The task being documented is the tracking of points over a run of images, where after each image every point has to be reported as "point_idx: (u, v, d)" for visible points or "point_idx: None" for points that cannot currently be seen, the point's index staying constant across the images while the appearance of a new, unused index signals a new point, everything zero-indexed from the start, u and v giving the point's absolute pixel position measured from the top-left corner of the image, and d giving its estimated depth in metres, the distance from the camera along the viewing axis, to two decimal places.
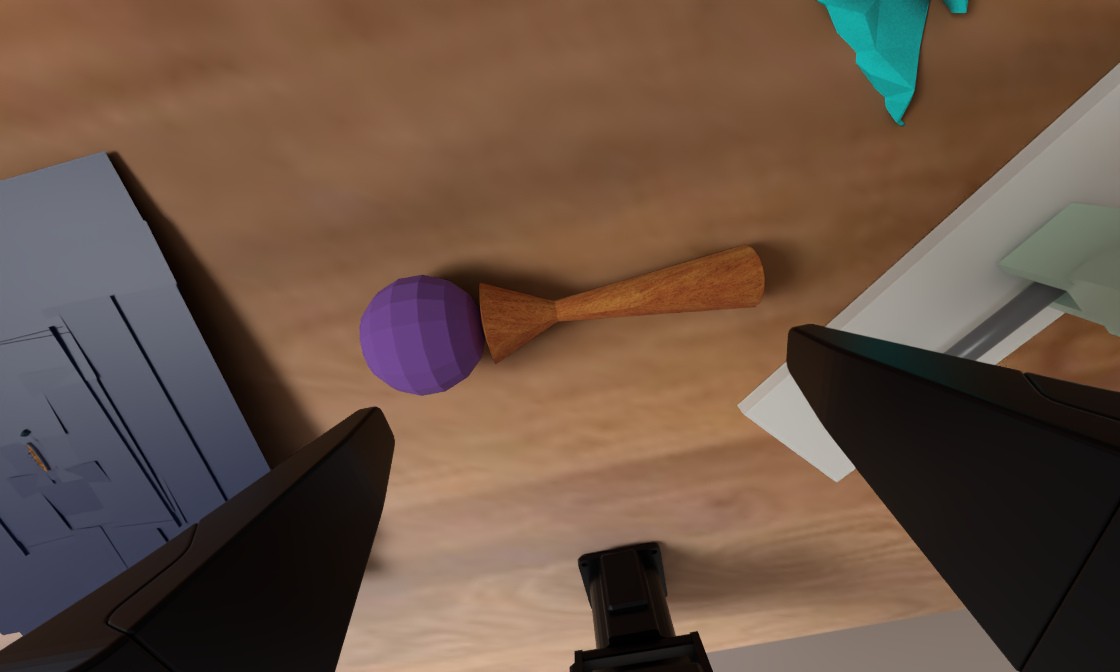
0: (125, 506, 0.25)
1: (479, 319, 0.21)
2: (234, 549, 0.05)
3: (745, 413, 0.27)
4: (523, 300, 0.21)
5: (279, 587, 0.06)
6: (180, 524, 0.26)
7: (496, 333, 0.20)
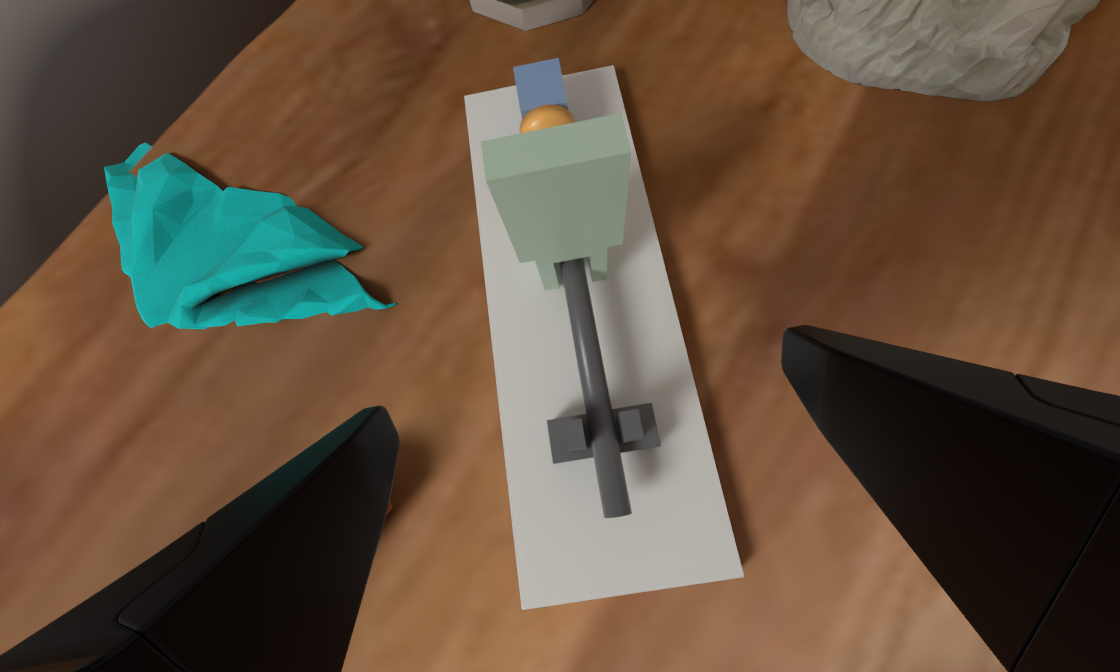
0: None
1: None
2: (242, 548, 0.05)
3: (522, 606, 0.19)
4: None
5: (286, 586, 0.06)
6: None
7: None
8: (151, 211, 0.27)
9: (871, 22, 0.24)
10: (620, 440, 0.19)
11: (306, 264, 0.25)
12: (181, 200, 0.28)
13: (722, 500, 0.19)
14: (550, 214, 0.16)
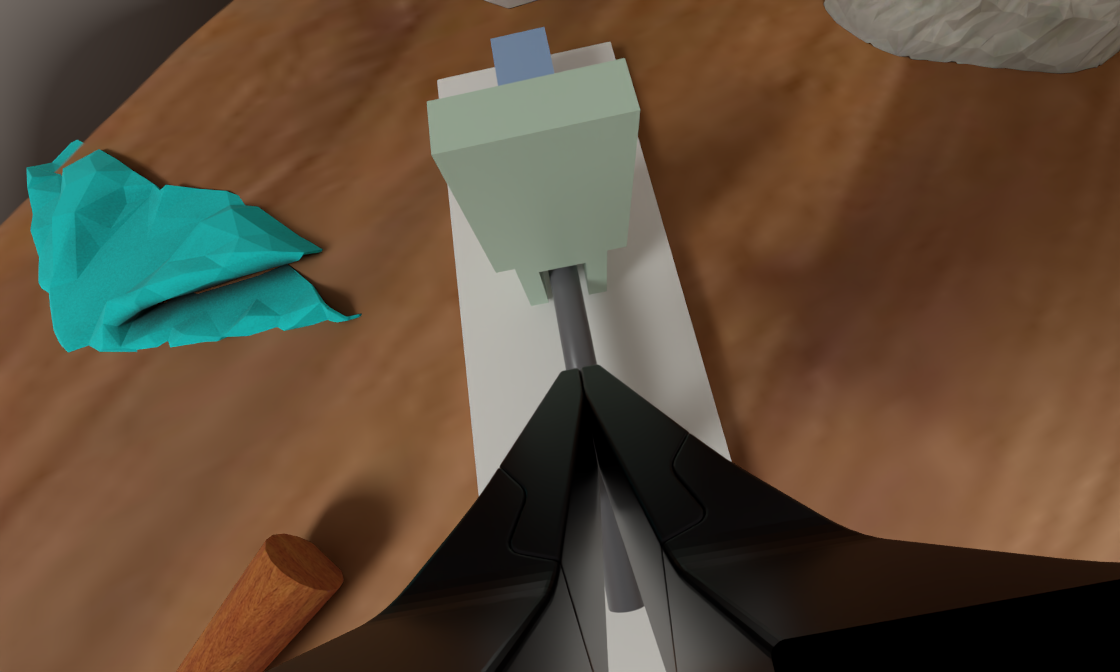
0: None
1: None
2: (572, 489, 0.05)
3: None
4: None
5: (586, 534, 0.06)
6: None
7: None
8: (73, 214, 0.23)
9: None
10: None
11: (253, 271, 0.21)
12: (111, 201, 0.24)
13: None
14: (529, 205, 0.12)
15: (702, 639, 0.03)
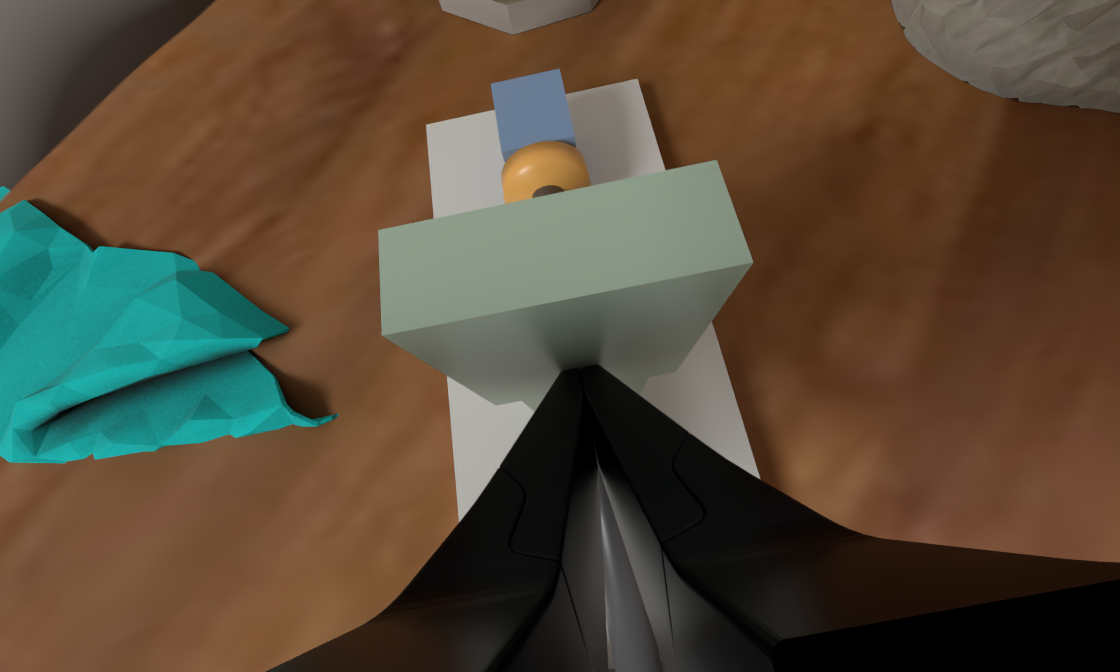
0: None
1: None
2: (571, 489, 0.05)
3: None
4: None
5: (586, 534, 0.06)
6: None
7: None
8: None
9: (1050, 8, 0.16)
10: None
11: (199, 361, 0.17)
12: (32, 267, 0.20)
13: None
14: (546, 359, 0.08)
15: (703, 639, 0.03)
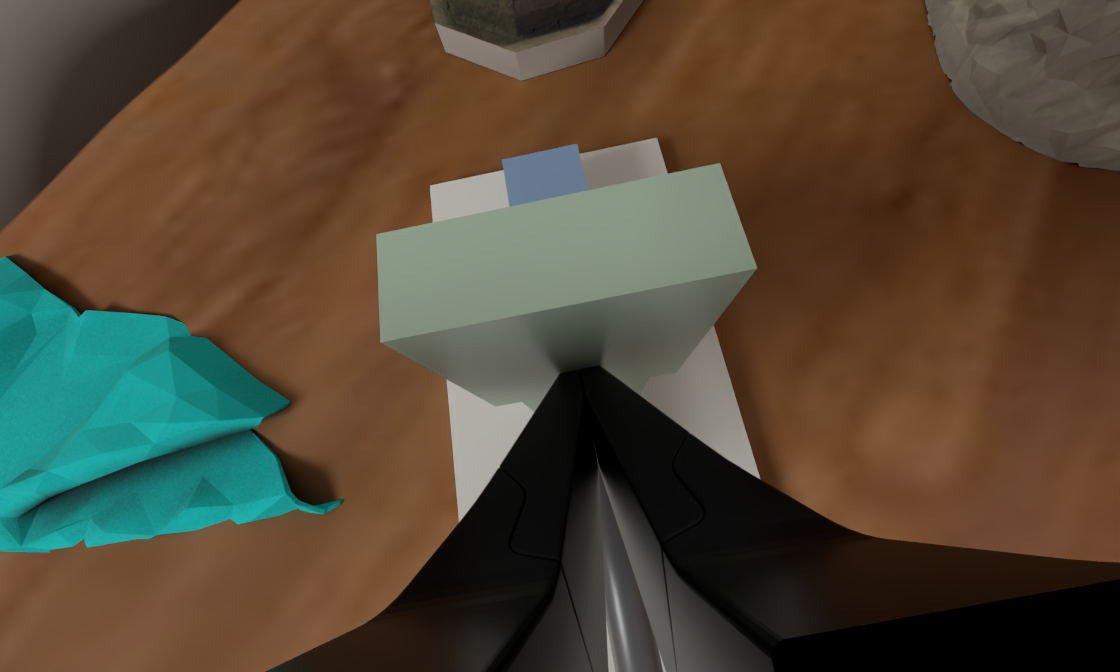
0: None
1: None
2: (572, 489, 0.05)
3: None
4: None
5: (586, 534, 0.06)
6: None
7: None
8: None
9: None
10: None
11: (196, 442, 0.16)
12: (14, 334, 0.19)
13: None
14: (546, 363, 0.08)
15: (703, 638, 0.03)
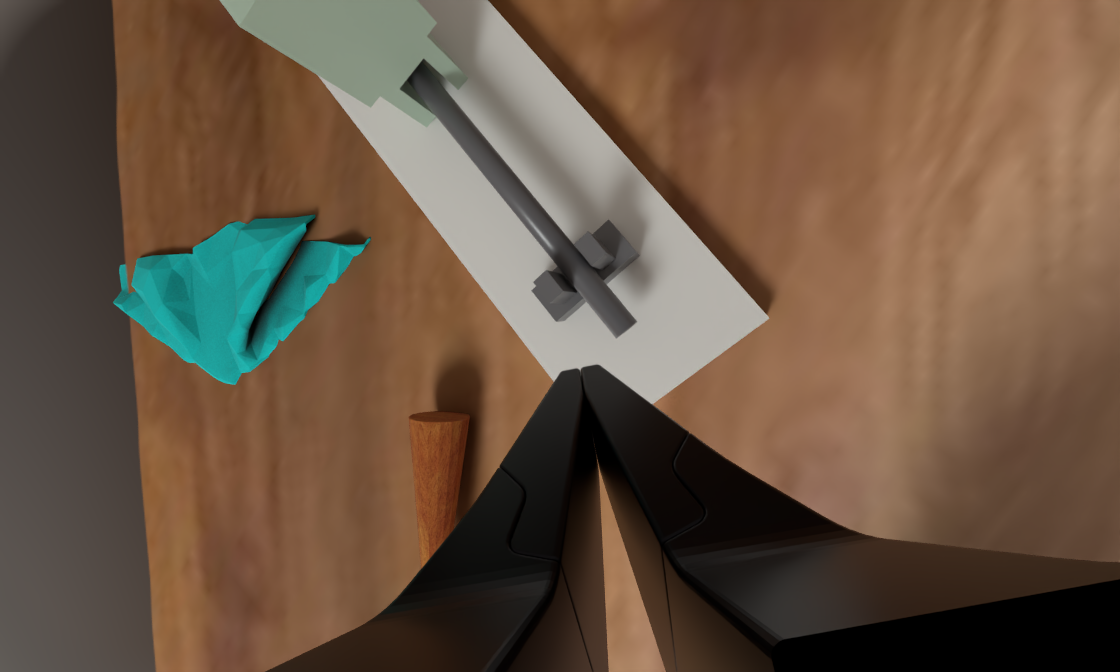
0: None
1: None
2: (571, 489, 0.05)
3: None
4: None
5: (586, 534, 0.06)
6: None
7: None
8: (163, 305, 0.31)
9: None
10: (599, 269, 0.20)
11: (286, 258, 0.27)
12: (174, 283, 0.31)
13: (719, 265, 0.19)
14: (333, 29, 0.16)
15: (703, 637, 0.03)
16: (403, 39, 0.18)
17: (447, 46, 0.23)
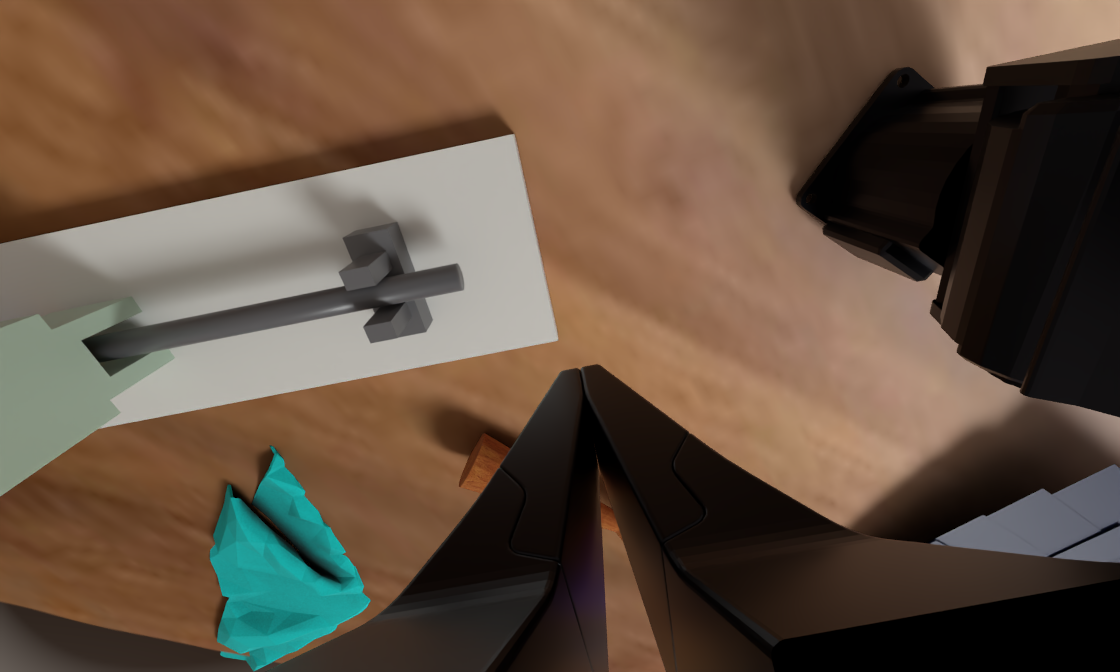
0: None
1: None
2: (572, 489, 0.05)
3: (556, 339, 0.22)
4: None
5: (586, 534, 0.06)
6: None
7: None
8: (269, 635, 0.32)
9: None
10: (390, 270, 0.19)
11: (262, 524, 0.27)
12: (252, 620, 0.32)
13: (440, 152, 0.18)
14: None
15: (702, 638, 0.03)
16: (44, 357, 0.16)
17: (85, 299, 0.20)
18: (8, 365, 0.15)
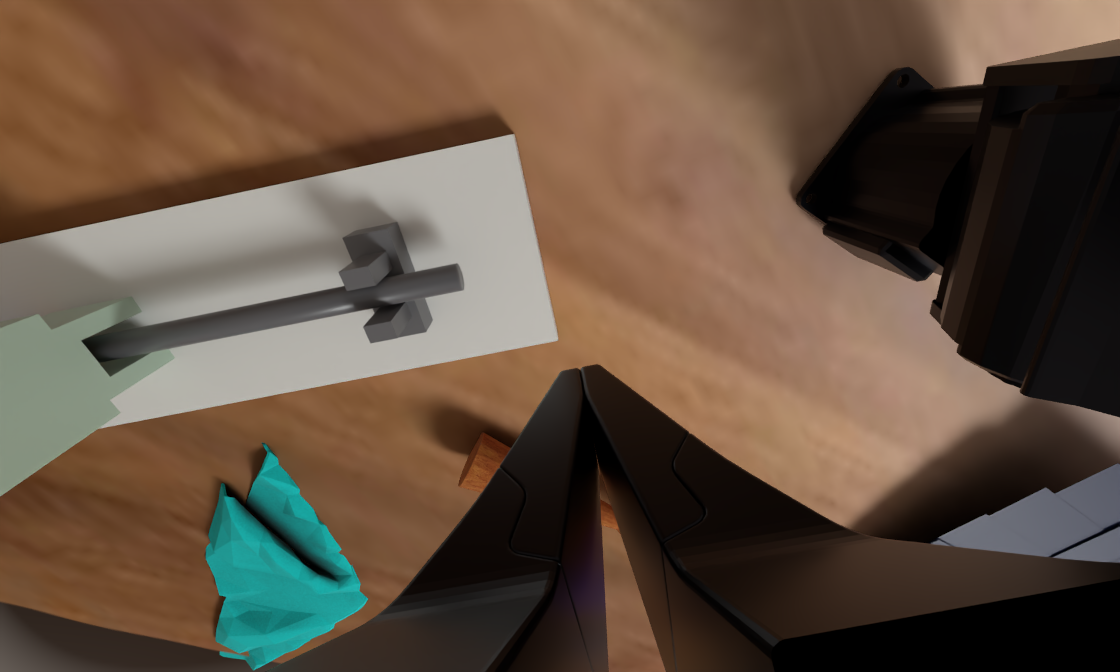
0: None
1: None
2: (572, 489, 0.05)
3: (556, 339, 0.22)
4: None
5: (586, 534, 0.06)
6: None
7: None
8: (267, 634, 0.32)
9: None
10: (390, 270, 0.19)
11: (257, 523, 0.27)
12: (250, 619, 0.32)
13: (440, 152, 0.18)
14: None
15: (702, 638, 0.03)
16: (44, 357, 0.16)
17: (85, 299, 0.20)
18: (8, 365, 0.15)
